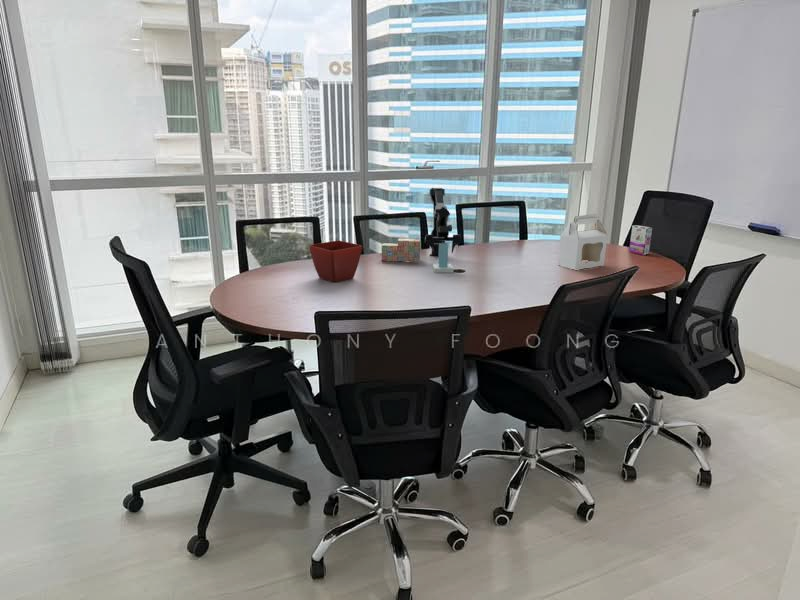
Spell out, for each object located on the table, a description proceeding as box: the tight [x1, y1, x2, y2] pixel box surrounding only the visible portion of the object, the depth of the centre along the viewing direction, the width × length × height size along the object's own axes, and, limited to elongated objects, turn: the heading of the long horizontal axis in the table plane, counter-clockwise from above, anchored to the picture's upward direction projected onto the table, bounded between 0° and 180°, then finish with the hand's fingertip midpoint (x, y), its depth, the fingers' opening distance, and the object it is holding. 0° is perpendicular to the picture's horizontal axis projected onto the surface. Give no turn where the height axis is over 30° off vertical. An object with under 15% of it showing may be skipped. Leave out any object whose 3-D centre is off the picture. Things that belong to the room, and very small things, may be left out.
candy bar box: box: [628, 224, 653, 256], centre depth 343 cm, size 11×5×16 cm, turn 28°
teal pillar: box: [437, 242, 449, 267], centre depth 302 cm, size 4×4×12 cm
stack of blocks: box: [381, 238, 421, 263], centre depth 322 cm, size 21×6×12 cm, turn 84°
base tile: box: [432, 263, 454, 273], centre depth 304 cm, size 10×10×2 cm
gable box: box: [557, 213, 608, 270], centre depth 311 cm, size 22×13×28 cm, turn 119°
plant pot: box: [309, 240, 363, 283], centre depth 285 cm, size 19×19×17 cm
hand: (443, 252), depth 300 cm, fingers open, 9 cm apart
